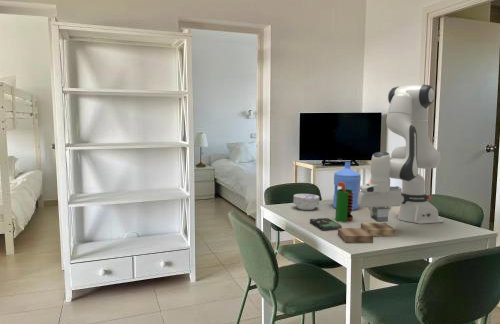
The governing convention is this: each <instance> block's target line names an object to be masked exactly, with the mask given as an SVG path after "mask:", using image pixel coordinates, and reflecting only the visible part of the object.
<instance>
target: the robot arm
mask: <svg viewBox="0 0 500 324" xmlns="http://www.w3.org/2000/svg"><path fill="white" fill-rule="evenodd" d="M387 100H388V103H389V105H388V106H389V107H388V110H387V114H386V121H385V122H386V124H385V125H386V126H387V128H388V130H389V131H390V132H392V133H393V134H395V135H398V136H401V137H402V138H403V139H404V140H405V141H404V142H405V146H397V147H395V148H394V149H393V150H392V151H391V155H390V153H389V152H388V151H378V152H377V151H376V152H374V153H373V154H372V156H371V160H370V161H371V162H370V174H371V177H370V179H369V180H370V182H369V181H368V182H369V183H368V182H367V183H364V184H362V185H361V184H360V192H359V194H358V205H359V206H360V207H359V208H368V210H369V212H370V213H369V214H370V217H371V216H375V212H373V211H372V209H373V207H386V208H387V209H388V213H389V212H390V211H391V208H392V207H399V211H398V214H397V216H396V217H397V219H398V220H400V221H403V222H408V223H415V224H419V225H422V224H423V225H424V224H437V223H443V222H444V220H443V218H441V217H439V211H438V209H437V208H436V207H435V206H434V205H433V204H431V203H430V202H429V201H428V200H431V199H432V196H431V195H429V194H428V195H427V194H425V192H426V191H425V188H426V180H425V177H423V176H422V175H421V174H419V169H422V170H423V169H424V170H428V169H429V170H430V169H436V168H437V167H438V166H439V165H440V164H441V162H442V156H441V153H440V152H439V150H438V149H436V147H435V146H434V145H433V144H432V141H431V139H430V137H429V136H430V135H429V106H431V105H432V104H433V102H434V100H435V89H434V87H433V86H432V85H430V84H409V85H403V86H398V85H397V86H394V87H392V88H391V89H390V90H389V92H388V94H387ZM391 179H394V180H395V179H396V180H401V181H402V182H401V183H402V184H401V187H400V186H391Z"/></svg>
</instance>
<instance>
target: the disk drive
mask: <svg viewBox="0 0 500 324" xmlns="http://www.w3.org/2000/svg"><path fill="white" fill-rule="evenodd" d="M309 224H310V225H312V226H314V227H315V228H317V229H319V230H321V231H322V232H327V231H338V228H343V227H342V225H341V224H340V223H338V222H336V221H334V220H333V219H330V218H328V217H322V218H321V217H318V218H310V219H309Z"/></svg>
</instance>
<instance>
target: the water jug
mask: <svg viewBox="0 0 500 324" xmlns="http://www.w3.org/2000/svg"><path fill="white" fill-rule="evenodd" d="M333 175H334V176H333V185H334V191H333V193H334V194H333V197H332V198H333V200H332V201H333V202H332V206H333V208H335V209H336V197H337V190H338V184H339V182H343V183H344V184H345V188H346V189H350V190H352V193H353V199H352V200H353V202H351V203H353V205H351V206H353V208H352V211H356V210H359V208H361V207H360V206H359V205H358V194H359V192H360V191H361V190H360V186H361V179H362V177H361V173H359V172H357V171H356V170H354V169H351V161H345V162H344V168H342V169H340V170H338V171H336V172H334V174H333ZM340 189H343V188H342V187H341V186H340Z"/></svg>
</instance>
